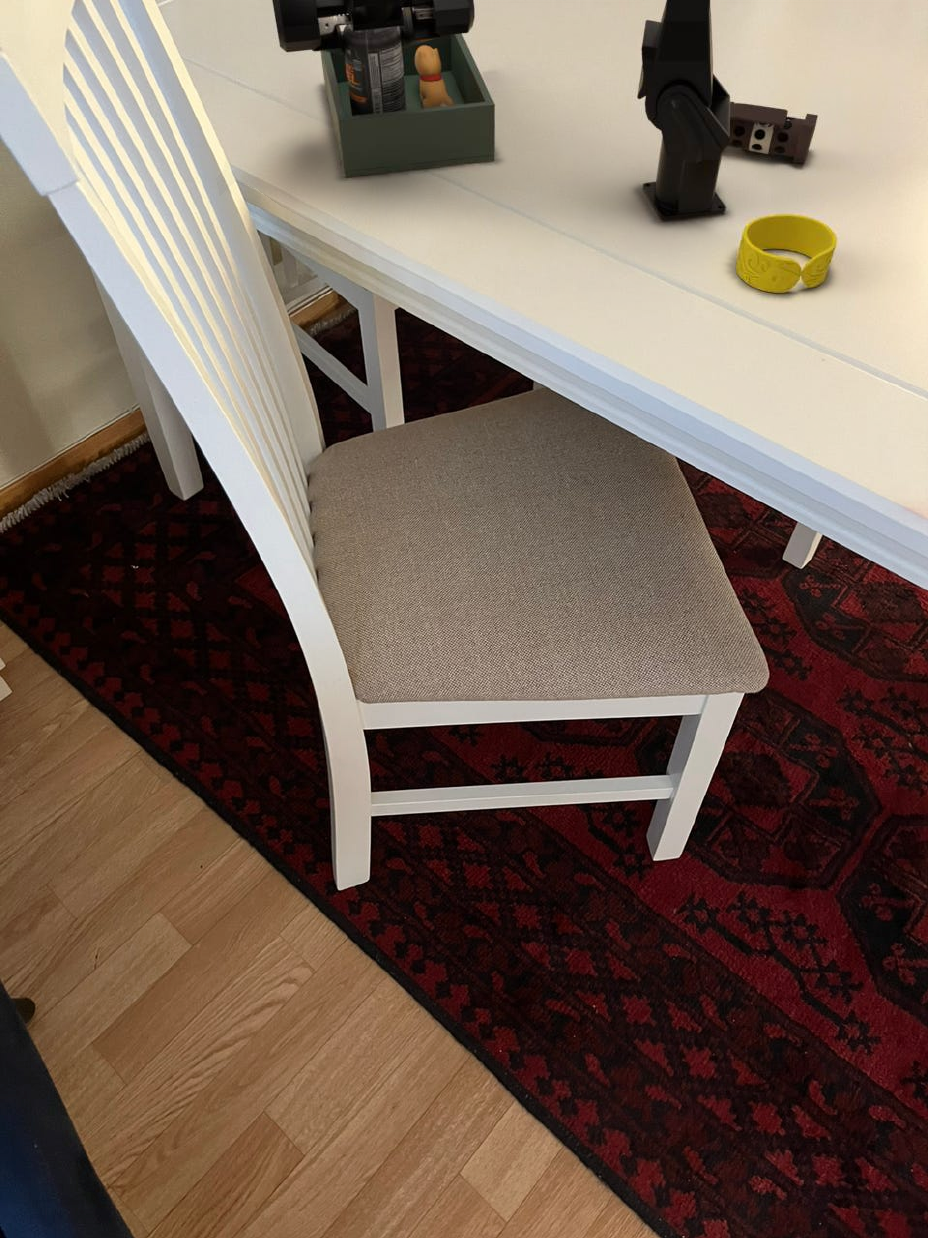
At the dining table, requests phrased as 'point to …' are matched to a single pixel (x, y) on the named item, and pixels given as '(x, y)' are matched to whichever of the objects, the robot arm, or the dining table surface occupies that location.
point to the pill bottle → (374, 70)
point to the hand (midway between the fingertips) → (371, 46)
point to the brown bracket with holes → (770, 131)
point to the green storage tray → (415, 117)
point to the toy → (431, 78)
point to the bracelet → (786, 235)
